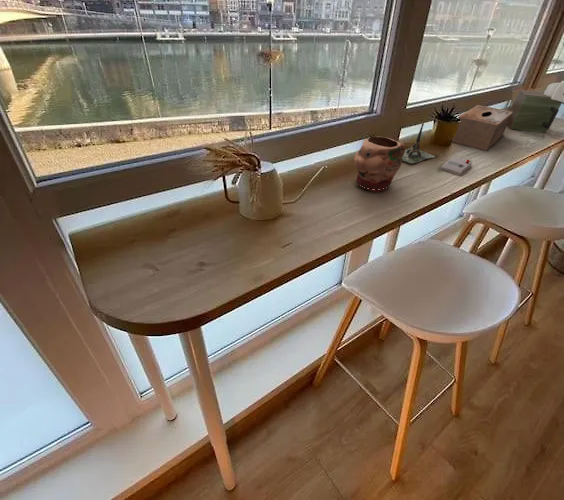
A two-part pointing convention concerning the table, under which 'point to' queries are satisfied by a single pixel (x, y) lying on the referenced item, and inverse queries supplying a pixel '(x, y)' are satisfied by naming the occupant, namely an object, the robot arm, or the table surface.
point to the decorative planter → (378, 162)
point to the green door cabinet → (519, 101)
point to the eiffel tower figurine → (416, 151)
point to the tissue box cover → (482, 126)
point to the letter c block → (536, 114)
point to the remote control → (456, 166)
